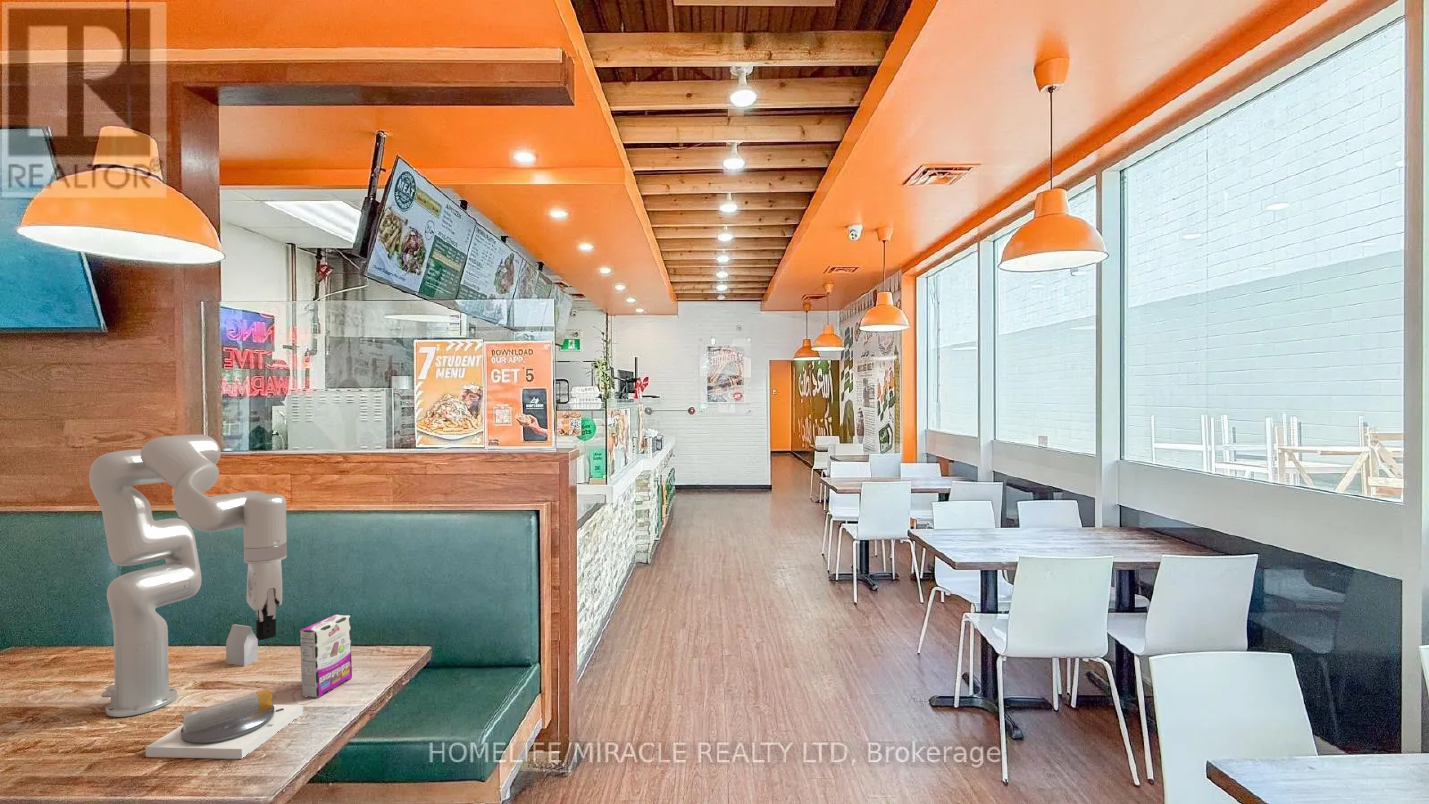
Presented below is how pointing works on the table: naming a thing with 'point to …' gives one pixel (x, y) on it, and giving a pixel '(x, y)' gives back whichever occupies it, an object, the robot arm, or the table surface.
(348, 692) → the table surface
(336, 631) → the candy bar box
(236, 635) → the grey milk carton
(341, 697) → the table surface
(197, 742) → the dial
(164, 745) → the dial plate
